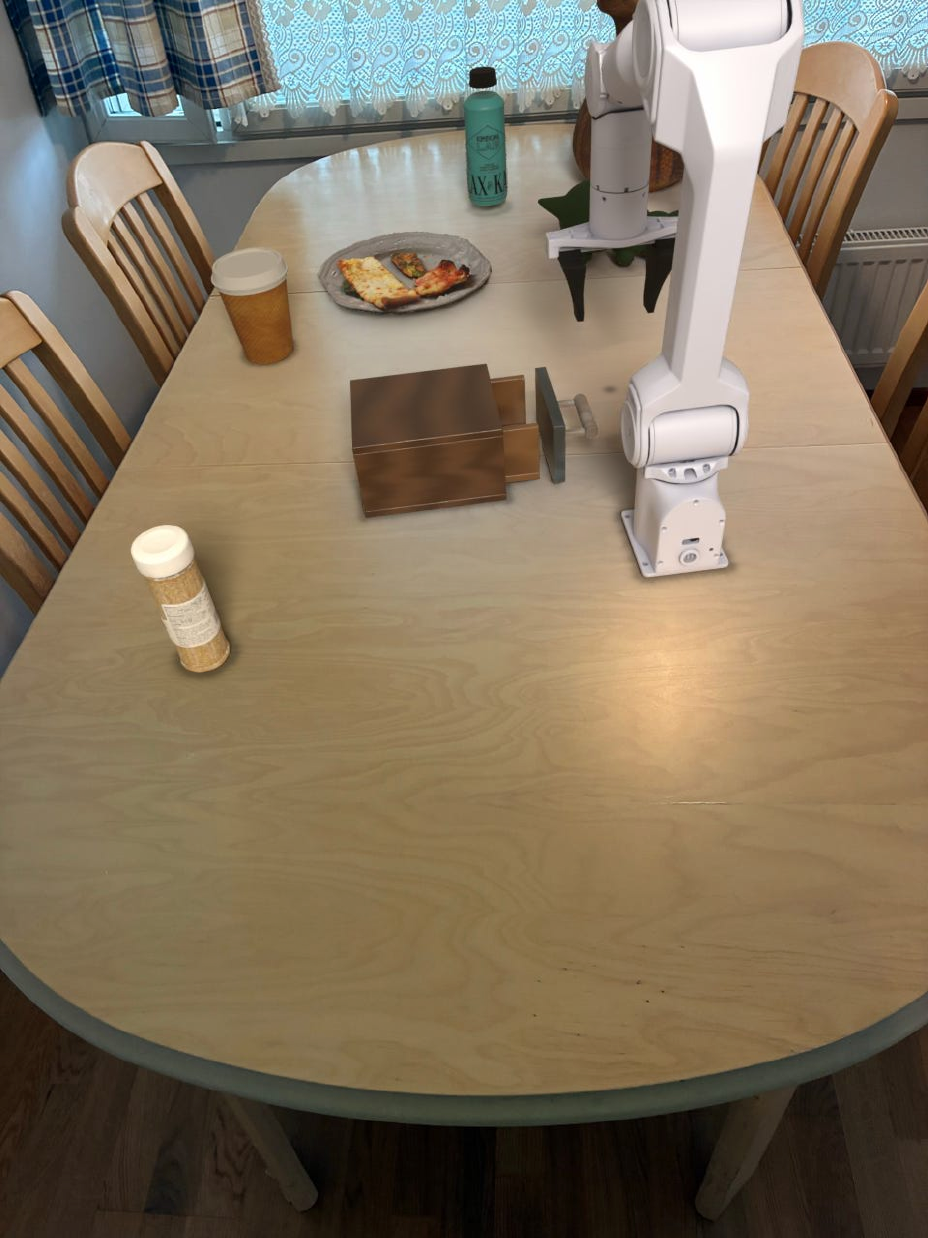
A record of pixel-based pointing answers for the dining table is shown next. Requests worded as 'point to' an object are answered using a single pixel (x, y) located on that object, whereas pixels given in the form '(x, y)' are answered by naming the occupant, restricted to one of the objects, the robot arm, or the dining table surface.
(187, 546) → the spice jar
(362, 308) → the food plate
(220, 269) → the disposable coffee cup
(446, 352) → the dining table surface
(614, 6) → the jug
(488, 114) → the beverage bottle
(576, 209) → the toy figurine
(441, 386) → the cabinet
